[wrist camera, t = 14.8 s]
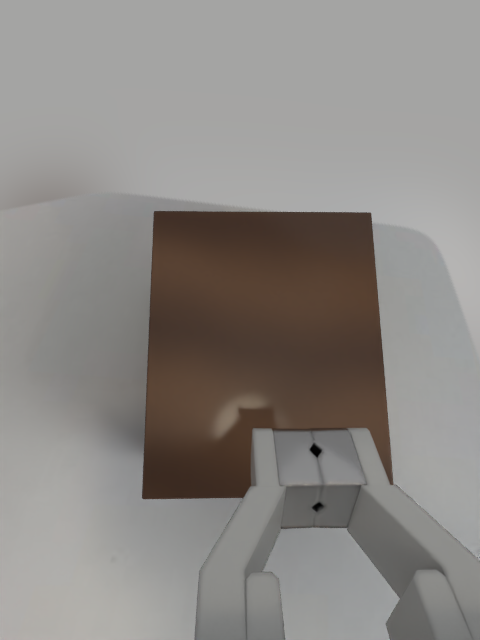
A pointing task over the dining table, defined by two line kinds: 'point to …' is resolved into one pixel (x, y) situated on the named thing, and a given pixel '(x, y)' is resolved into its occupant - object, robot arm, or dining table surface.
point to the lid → (257, 341)
